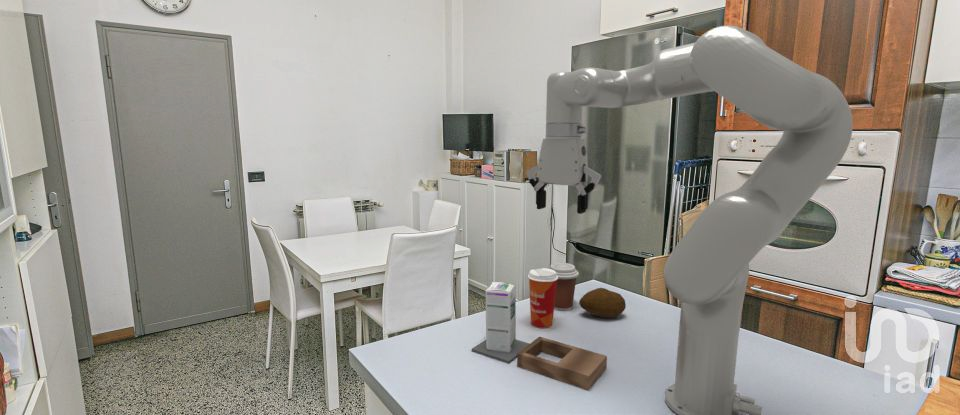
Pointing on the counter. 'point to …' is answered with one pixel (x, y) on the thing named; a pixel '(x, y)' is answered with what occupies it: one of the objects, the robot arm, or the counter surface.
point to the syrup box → (500, 317)
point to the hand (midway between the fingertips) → (560, 210)
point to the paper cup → (542, 296)
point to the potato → (603, 303)
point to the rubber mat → (500, 355)
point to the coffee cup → (564, 285)
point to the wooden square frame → (563, 362)
